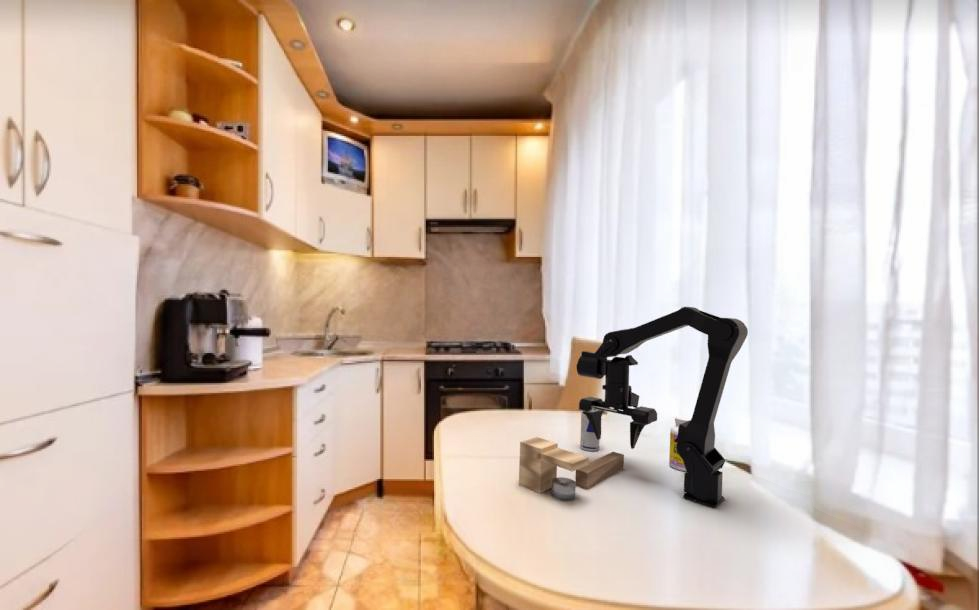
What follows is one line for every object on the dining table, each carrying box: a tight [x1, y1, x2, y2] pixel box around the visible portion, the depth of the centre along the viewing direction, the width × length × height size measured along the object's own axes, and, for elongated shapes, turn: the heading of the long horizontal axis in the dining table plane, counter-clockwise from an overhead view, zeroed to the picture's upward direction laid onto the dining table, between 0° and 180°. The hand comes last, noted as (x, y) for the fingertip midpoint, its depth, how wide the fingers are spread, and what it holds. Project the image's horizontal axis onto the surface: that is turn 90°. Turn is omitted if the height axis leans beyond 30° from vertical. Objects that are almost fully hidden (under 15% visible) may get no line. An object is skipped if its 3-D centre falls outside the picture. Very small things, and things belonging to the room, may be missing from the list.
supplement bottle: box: [668, 415, 692, 472], centre depth 108 cm, size 7×7×13 cm
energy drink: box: [579, 410, 600, 452], centre depth 120 cm, size 5×5×12 cm
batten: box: [574, 451, 625, 491], centre depth 99 cm, size 3×18×4 cm, turn 137°
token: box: [551, 476, 577, 502], centre depth 88 cm, size 5×5×3 cm
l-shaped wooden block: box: [518, 436, 590, 494], centre depth 91 cm, size 14×6×10 cm, turn 45°
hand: (615, 443), depth 104 cm, fingers open, 9 cm apart
